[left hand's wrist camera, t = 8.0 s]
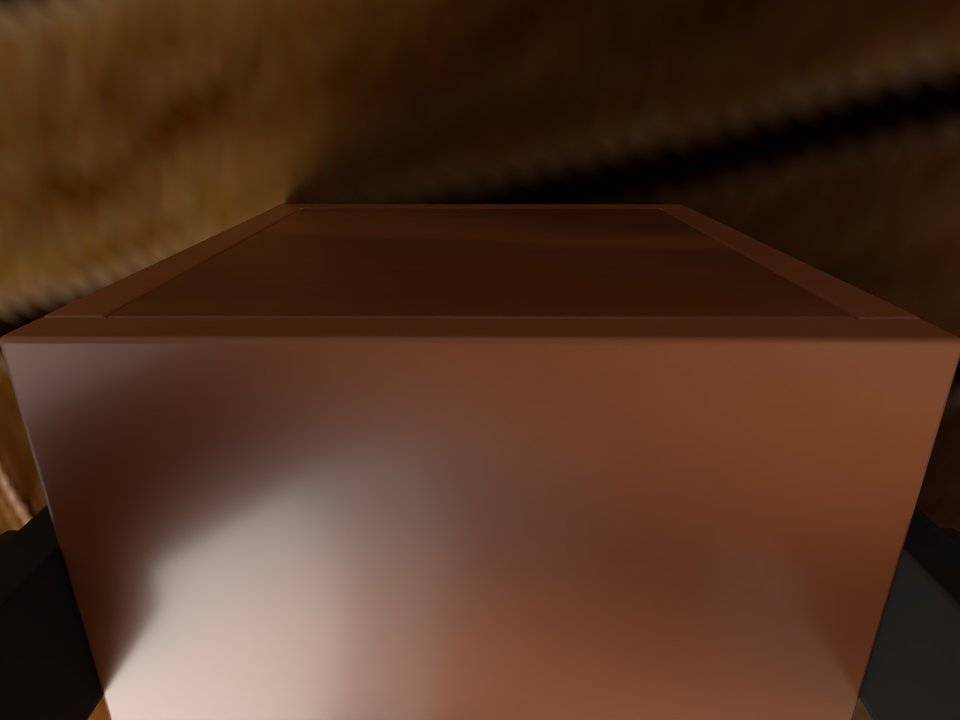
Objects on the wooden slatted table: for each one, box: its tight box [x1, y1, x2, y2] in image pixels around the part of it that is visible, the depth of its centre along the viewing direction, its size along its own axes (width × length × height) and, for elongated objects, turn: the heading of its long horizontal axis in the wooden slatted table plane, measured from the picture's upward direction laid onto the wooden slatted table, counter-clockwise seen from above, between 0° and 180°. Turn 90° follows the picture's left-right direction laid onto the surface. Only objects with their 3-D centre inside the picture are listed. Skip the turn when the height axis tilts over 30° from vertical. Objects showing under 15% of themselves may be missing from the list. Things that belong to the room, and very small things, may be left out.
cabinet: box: [0, 204, 960, 720], centre depth 16 cm, size 19×11×11 cm, turn 0°
